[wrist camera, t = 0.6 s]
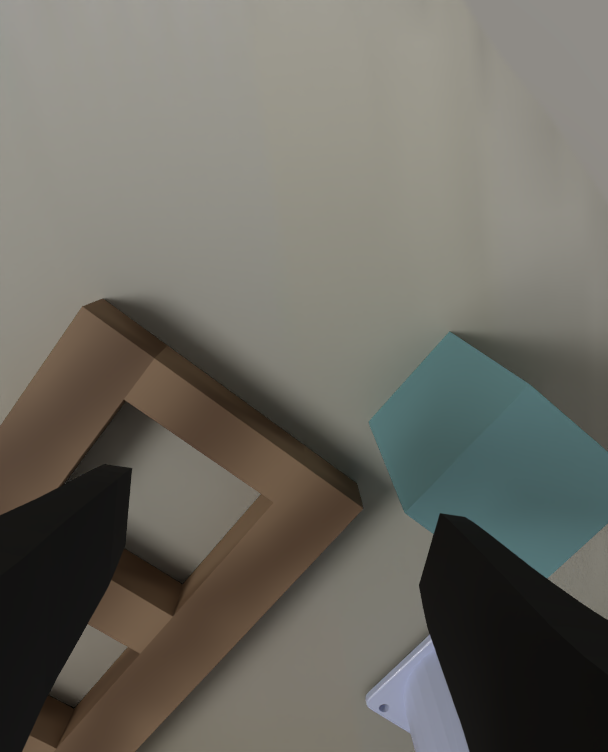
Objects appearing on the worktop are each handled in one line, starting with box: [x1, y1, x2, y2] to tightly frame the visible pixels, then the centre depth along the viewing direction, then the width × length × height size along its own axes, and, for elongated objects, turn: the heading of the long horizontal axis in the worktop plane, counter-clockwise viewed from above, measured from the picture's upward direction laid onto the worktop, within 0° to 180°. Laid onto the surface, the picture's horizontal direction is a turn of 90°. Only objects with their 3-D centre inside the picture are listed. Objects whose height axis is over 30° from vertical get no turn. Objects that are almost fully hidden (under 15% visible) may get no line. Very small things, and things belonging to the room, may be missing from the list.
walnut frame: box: [0, 299, 363, 752], centre depth 22 cm, size 13×20×2 cm, turn 141°
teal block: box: [369, 332, 608, 578], centre depth 18 cm, size 5×5×7 cm
